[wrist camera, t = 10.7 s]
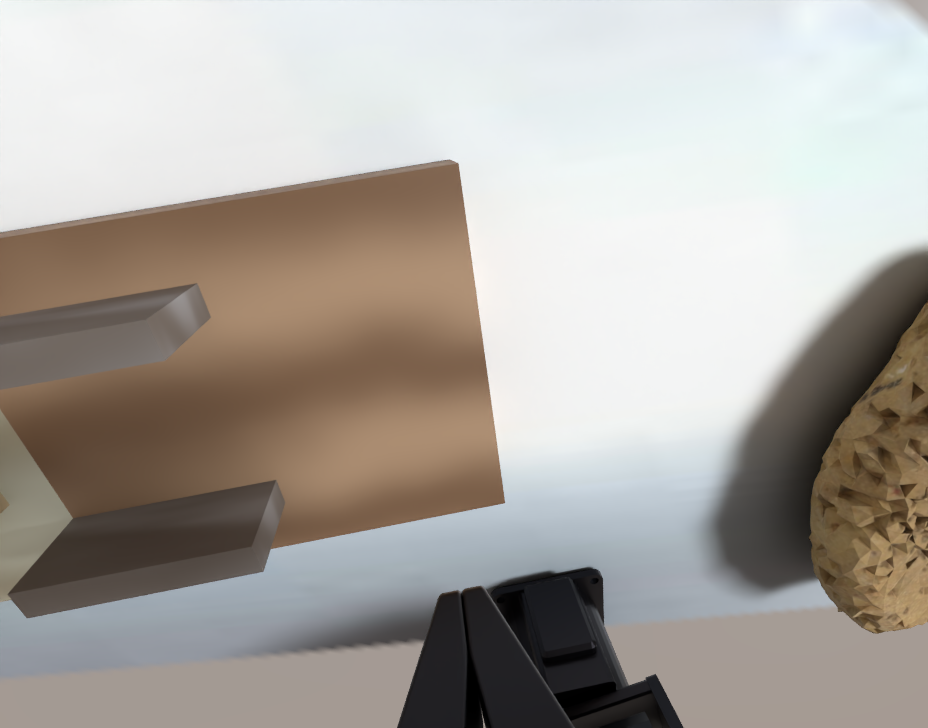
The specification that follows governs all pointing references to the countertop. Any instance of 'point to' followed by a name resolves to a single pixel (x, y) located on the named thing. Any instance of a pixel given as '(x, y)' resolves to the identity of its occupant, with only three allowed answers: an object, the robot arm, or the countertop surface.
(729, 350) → the countertop surface
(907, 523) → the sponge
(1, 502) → the maple block
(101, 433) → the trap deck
